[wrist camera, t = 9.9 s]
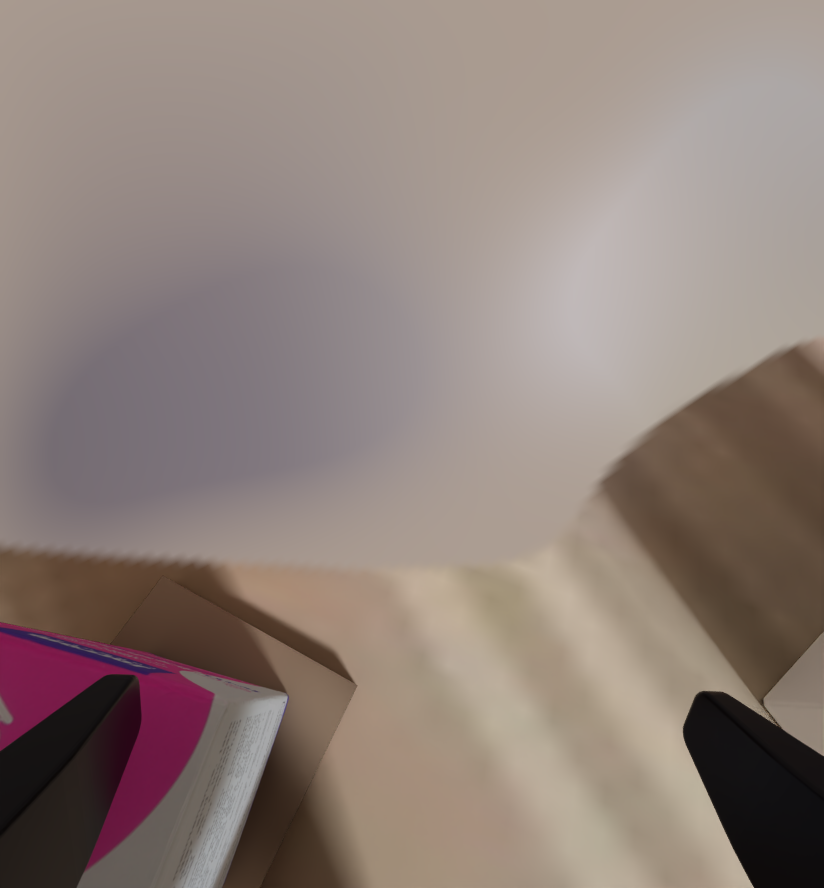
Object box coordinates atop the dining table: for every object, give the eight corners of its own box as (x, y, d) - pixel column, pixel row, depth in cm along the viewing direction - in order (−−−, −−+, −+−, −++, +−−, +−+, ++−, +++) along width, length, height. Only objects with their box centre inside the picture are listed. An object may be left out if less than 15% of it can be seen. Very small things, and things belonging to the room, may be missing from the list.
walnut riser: (220, 963, 15) (210, 990, 14) (-4, 821, 16) (-35, 834, 14) (355, 684, 19) (357, 685, 18) (174, 582, 20) (162, 575, 19)
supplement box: (294, 687, 18) (242, 702, 7) (224, 888, 15) (-11, 1348, 5) (148, 643, 17) (-103, 597, 7) (50, 837, 15) (-570, 1190, 5)
